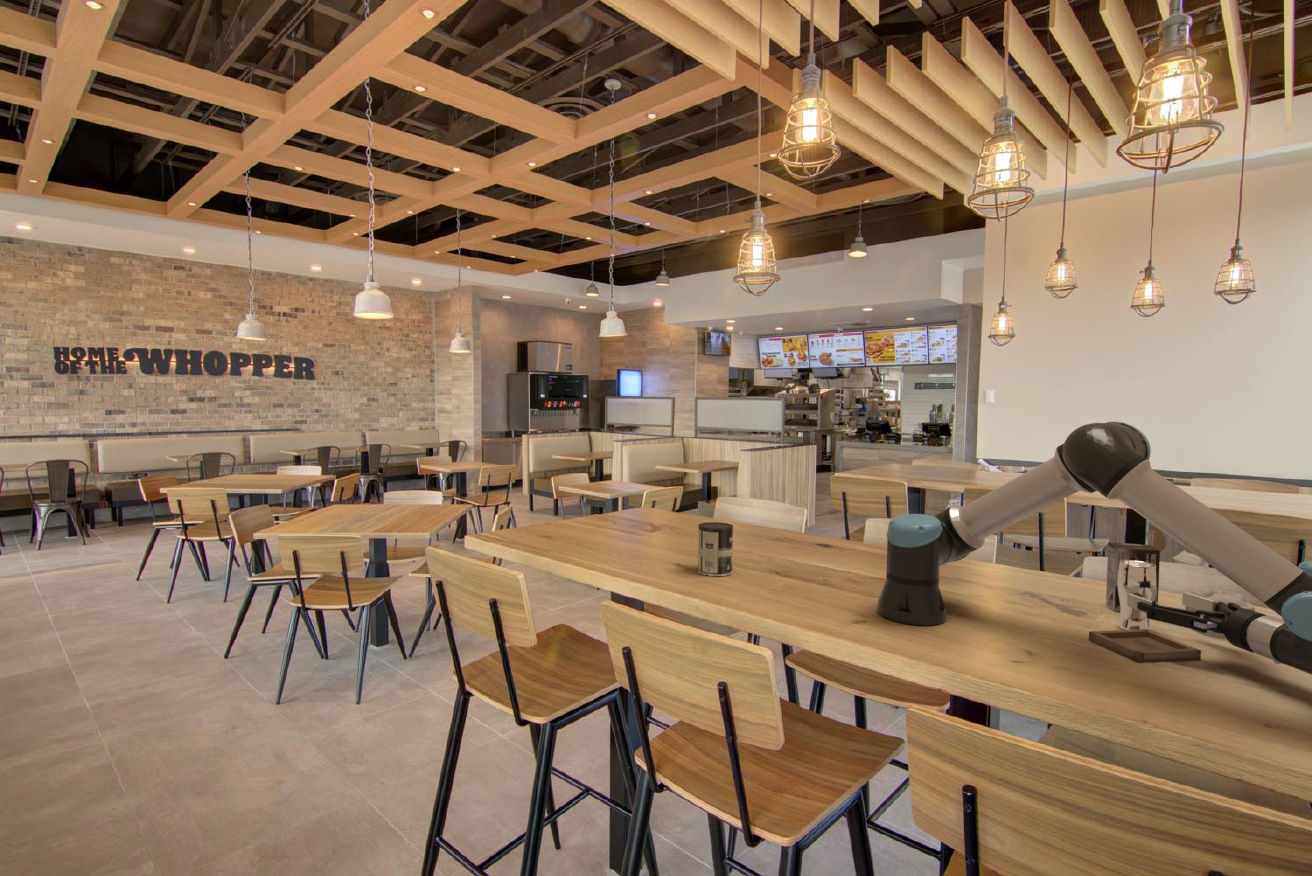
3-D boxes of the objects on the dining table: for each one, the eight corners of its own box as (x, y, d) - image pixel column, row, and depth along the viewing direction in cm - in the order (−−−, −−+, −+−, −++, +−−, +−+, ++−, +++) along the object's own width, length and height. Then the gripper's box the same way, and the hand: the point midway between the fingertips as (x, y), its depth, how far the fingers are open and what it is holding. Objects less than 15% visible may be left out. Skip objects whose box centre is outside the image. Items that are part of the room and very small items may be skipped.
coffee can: (730, 567, 192) (731, 522, 191) (734, 577, 182) (735, 528, 181) (696, 567, 192) (697, 521, 191) (698, 576, 182) (699, 528, 181)
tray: (1138, 662, 124) (1138, 653, 124) (1088, 639, 136) (1089, 631, 136) (1200, 659, 126) (1201, 650, 126) (1146, 637, 138) (1146, 628, 138)
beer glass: (1140, 624, 146) (1143, 560, 145) (1161, 634, 139) (1165, 567, 138) (1108, 622, 147) (1111, 558, 146) (1127, 633, 140) (1131, 566, 139)
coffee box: (1147, 608, 158) (1150, 544, 157) (1158, 616, 152) (1162, 550, 151) (1104, 603, 161) (1107, 541, 160) (1113, 611, 155) (1116, 546, 154)
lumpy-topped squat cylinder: (1202, 636, 139) (1204, 597, 138) (1173, 617, 151) (1175, 581, 151) (1260, 642, 136) (1263, 602, 135) (1226, 622, 148) (1228, 586, 148)
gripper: (1201, 656, 116) (1104, 617, 137) (1317, 651, 119) (1205, 614, 140) (1203, 616, 115) (1106, 583, 136) (1320, 612, 119) (1207, 580, 140)
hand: (1156, 598), depth 138 cm, fingers open, 13 cm apart
